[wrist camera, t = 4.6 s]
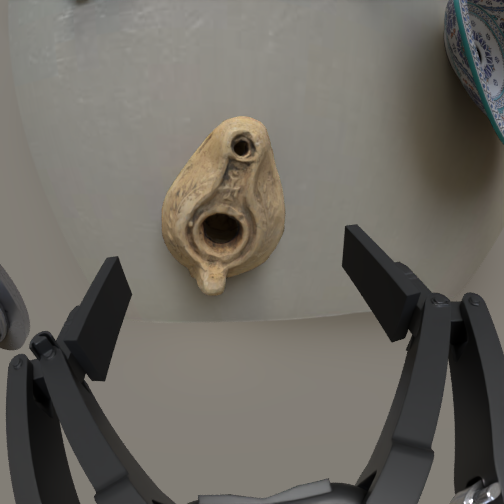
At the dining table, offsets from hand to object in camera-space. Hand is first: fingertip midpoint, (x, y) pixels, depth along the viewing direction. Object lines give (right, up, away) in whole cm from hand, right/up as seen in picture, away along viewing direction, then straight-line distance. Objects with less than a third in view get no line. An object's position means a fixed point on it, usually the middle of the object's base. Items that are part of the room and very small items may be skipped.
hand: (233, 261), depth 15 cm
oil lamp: (-2, +6, +11) cm, 13 cm away
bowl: (+29, +26, +4) cm, 40 cm away
